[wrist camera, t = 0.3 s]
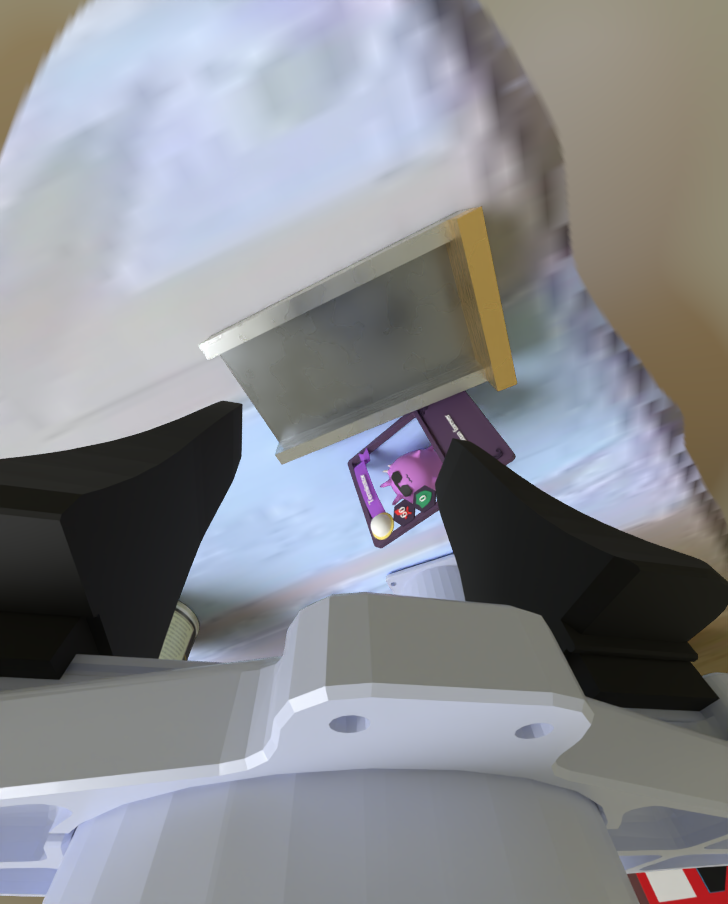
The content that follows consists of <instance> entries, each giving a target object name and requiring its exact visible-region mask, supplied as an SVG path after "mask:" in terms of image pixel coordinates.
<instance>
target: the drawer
mask: <svg viewBox="0 0 728 904" xmlns="http://www.w3.org/2000/svg"><path fill="white" fill-rule="evenodd" d="M198 346H199V348H200V349H201V350H202V352H203V353H204V355H205V356H206V357H207V359H208V360H210V359H212V358H214V357H216V356H218V355H220V356H221V357H222V359H223V360H224V362H225V363H226V365H227V366H228V368H229V369H230V371H231V372H232V374H233V375H234V377H235V378H236V379H237V381H238V382H239V384H240V385H241V387H242V388H243V390H244V391H245V393H246V394H247V396H248V397H249V399H250V400H251V402H252V403H253V405H254V406H255V407H256V409H257V410H258V412H259V413H260V415H261V416H262V418H263V419H264V421H265V422H266V424H267V425H268V427H269V428H270V430H271V431H272V433H273V434H274V435H275V437H276V438H277V440H278V441H279V444H278V447H277V450H276V453H275V456H276V457H277V458H278V460H279V461H280V463H281V464H285V463H287V462H289V461H292V460H294V459H297V458H299V457H302V456H304V455H307V454H309V453H312V452H314V451H317V450H319V449H322V448H324V447H326V446H329V445H331V444H334V443H336V442H339V441H341V440H344V439H346V438H349V437H351V436H354V435H356V434H359V433H361V432H363V431H366V430H368V429H371V428H373V427H376V426H378V425H381V424H383V423H386V422H388V421H391V420H393V419H396V418H398V417H400V416H403V415H405V414H408V413H410V412H413V411H415V410H418V409H420V408H423V407H425V406H428V405H430V404H432V403H435V402H437V401H440V400H442V399H445V398H447V397H450V396H452V395H455V394H457V393H460V392H462V391H465V390H467V389H469V388H472V387H474V386H477V385H479V384H482V383H484V382H487V381H488V382H489V383H490V384H491V385H492V386H493V387H494V388H495V389H496V390H497V391H501V390H503V389H506V388H508V387H511V386H513V385H516V384H517V380H516V375H515V370H514V365H513V360H512V355H511V350H510V345H509V340H508V335H507V330H506V325H505V320H504V315H503V310H502V305H501V300H500V295H499V290H498V285H497V280H496V275H495V270H494V265H493V260H492V255H491V250H490V245H489V240H488V235H487V230H486V225H485V220H484V215H483V210H482V206H481V207H476V208H471V209H466V210H462V211H457V212H455V213H453V214H451V215H449V216H447V217H445V218H443V219H441V220H439V221H437V222H435V223H433V224H431V225H429V226H427V227H425V228H423V229H421V230H419V231H417V232H415V233H413V234H411V235H410V236H408V237H406V238H404V239H402V240H400V241H398V242H396V243H394V244H392V245H390V246H388V247H386V248H384V249H382V250H380V251H378V252H376V253H374V254H372V255H370V256H368V257H366V258H364V259H362V260H360V261H358V262H356V263H354V264H352V265H350V266H348V267H346V268H344V269H342V270H340V271H338V272H336V273H334V274H332V275H330V276H328V277H327V278H325V279H323V280H321V281H319V282H317V283H315V284H313V285H311V286H309V287H307V288H305V289H303V290H301V291H299V292H297V293H295V294H293V295H291V296H289V297H287V298H285V299H283V300H281V301H279V302H277V303H275V304H273V305H271V306H269V307H267V308H265V309H263V310H261V311H259V312H257V313H255V314H253V315H251V316H249V317H247V318H245V319H244V320H242V321H240V322H238V323H236V324H234V325H232V326H230V327H228V328H226V329H224V330H222V331H220V332H218V333H216V334H214V335H212V336H210V337H209V338H208V339H206V340H205V341H204V342H202V343H201V344H200V345H198Z"/></svg>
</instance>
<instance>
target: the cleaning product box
mask: <svg viewBox="0 0 728 904" xmlns="http://www.w3.org/2000/svg"><path fill="white" fill-rule="evenodd" d="M627 876H628V878H629V880H630V883H631V885H632V887H633V889H634V892H635V894H636V896H637V899H638V901H639V903H640V904H728V866H715V867H700V868H688V869H676V870H664V871H653V872H642V873H631V874H627Z"/></svg>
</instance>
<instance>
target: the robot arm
mask: <svg viewBox="0 0 728 904" xmlns="http://www.w3.org/2000/svg"><path fill="white" fill-rule="evenodd" d="M241 452H242V404H240V403H234V402H228V401H220V402H217V403H215V404H212V405H210V406H208V407H205V408H203V409H201V410H198V411H196V412H194V413H192V414H189V415H187V416H185V417H182V418H180V419H177V420H175V421H172V422H170V423H167V424H164V425H162V426H159V427H156V428H154V429H151V430H148V431H145V432H142V433H139V434H136V435H132V436H128V437H125V438H121V439H118V440H114V441H110V442H105V443H100V444H96V445H91V446H86V447H81V448H76V449H71V450H66V451H59V452H53V453H46V454H39V455H31V456H23V457H15V458H6V459H0V896H43V897H45V898H44V900H43V903H42V904H640V903H639V901H638V899H637V896H636V894H635V892H634V889H633V887H632V885H631V883H630V880H629V878H628V876H627V874H631V873H642V872H653V871H664V870H676V869H688V868H700V867H715V866H728V673H710V674H707V675H703V676H701V675H700V673H699V672H698V671H697V670H696V669H695V667H694V666H693V665H692V664H691V662H694V661H696V660H697V659H698V654H697V653H696V652H695V651H694V650H693V648H692V647H691V646H690V645H689V644H688V643H687V642H688V641H689V640H690V639H691V638H692V637H694V636H695V635H696V634H697V633H699V632H700V631H701V630H702V629H704V628H705V627H706V626H707V625H709V624H710V623H711V622H712V621H714V620H715V619H716V618H717V617H718V616H719V615H720V614H721V613H722V612H723V611H724V610H725V608H726V607H727V605H728V582H727V581H726V580H725V579H724V578H723V577H722V576H721V575H720V574H719V573H717V572H716V571H715V570H714V569H713V568H712V567H711V566H710V565H708V564H707V563H705V562H703V561H702V560H700V559H697V558H694V557H691V556H688V555H686V554H683V553H680V552H677V551H674V550H671V549H668V548H665V547H662V546H659V545H656V544H653V543H651V542H648V541H645V540H643V539H640V538H638V537H635V536H633V535H630V534H628V533H625V532H623V531H620V530H618V529H616V528H613V527H611V526H609V525H607V524H604V523H602V522H600V521H598V520H596V519H594V518H592V517H590V516H587V515H585V514H583V513H581V512H579V511H577V510H575V509H573V508H572V507H570V506H568V505H566V504H564V503H562V502H561V501H559V500H557V499H555V498H554V497H552V496H550V495H548V494H547V493H545V492H543V491H542V490H540V489H539V488H537V487H536V486H534V485H533V484H531V483H530V482H528V481H527V480H525V479H524V478H522V477H521V476H519V475H518V474H516V473H515V472H514V471H512V470H511V469H509V468H508V467H507V466H505V465H504V464H502V463H501V462H500V461H498V460H497V459H496V458H494V457H493V456H492V455H490V454H489V453H487V452H486V451H485V450H483V449H482V448H480V447H479V446H477V445H476V444H474V443H472V442H470V441H467V440H461V439H455V438H452V441H451V443H450V446H449V448H448V451H447V454H446V456H445V459H444V461H443V464H442V467H441V469H440V472H439V474H438V477H437V479H436V482H435V490H436V497H437V502H438V508H439V511H440V514H441V517H442V520H443V523H444V526H445V529H446V532H447V535H448V538H449V541H450V544H451V547H452V550H453V553H454V554H451V555H448V556H445V557H442V558H439V559H436V560H433V561H429V562H426V563H423V564H420V565H417V566H414V567H411V568H407V569H404V570H401V571H398V572H395V573H392V574H389V575H387V576H386V582H387V584H388V585H389V587H390V589H391V590H392V592H393V593H394V595H392V594H381V593H371V592H359V593H346V594H333V595H330V596H328V597H326V598H324V599H322V600H320V601H317V602H315V603H313V604H311V605H309V606H307V607H305V608H303V609H302V610H300V611H299V613H298V614H297V616H296V617H295V619H294V620H293V622H292V623H291V625H290V627H289V628H288V630H287V635H286V642H285V648H284V652H283V655H282V656H279V657H271V658H263V659H255V660H247V661H239V662H231V663H219V662H202V661H186V660H169V659H159V656H160V653H161V650H162V647H163V644H164V640H165V638H166V635H167V632H168V629H169V626H170V623H171V620H172V617H173V615H174V612H175V609H176V606H177V603H178V600H179V598H180V595H181V592H182V590H183V587H184V584H185V581H186V579H187V576H188V573H189V571H190V568H191V566H192V563H193V561H194V558H195V556H196V553H197V550H198V548H199V545H200V543H201V541H202V539H203V537H204V535H205V533H206V531H207V529H208V527H209V525H210V523H211V521H212V519H213V518H214V516H215V514H216V512H217V510H218V508H219V506H220V505H221V503H222V501H223V499H224V497H225V495H226V493H227V491H228V489H229V487H230V486H231V484H232V482H233V479H234V477H235V474H236V471H237V468H238V465H239V462H240V459H241Z"/></svg>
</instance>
